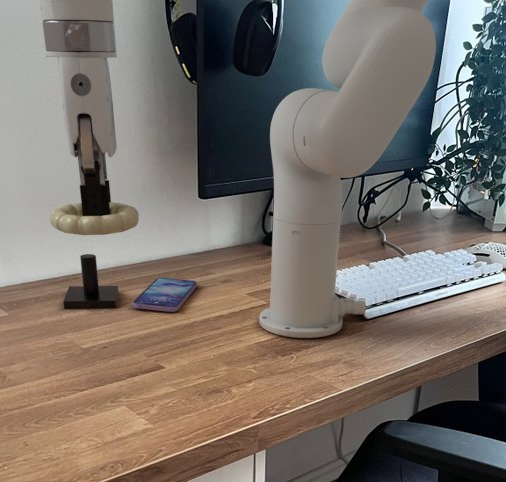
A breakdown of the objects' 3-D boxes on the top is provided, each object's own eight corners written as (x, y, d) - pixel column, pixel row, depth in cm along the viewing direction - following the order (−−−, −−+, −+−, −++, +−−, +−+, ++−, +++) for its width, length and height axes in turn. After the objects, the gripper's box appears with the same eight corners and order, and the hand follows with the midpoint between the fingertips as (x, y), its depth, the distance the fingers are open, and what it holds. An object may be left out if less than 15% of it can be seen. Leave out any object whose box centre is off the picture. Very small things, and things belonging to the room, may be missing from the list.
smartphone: (198, 280, 119) (176, 308, 107) (198, 286, 120) (176, 313, 107) (157, 276, 120) (130, 303, 107) (157, 282, 121) (130, 309, 108)
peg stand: (118, 292, 116) (115, 249, 112) (115, 308, 109) (112, 262, 105) (69, 293, 115) (64, 249, 111) (64, 308, 108) (58, 262, 104)
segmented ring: (139, 216, 86) (138, 199, 85) (138, 235, 77) (137, 217, 76) (57, 218, 84) (54, 201, 83) (47, 237, 76) (44, 219, 75)
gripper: (112, 42, 68) (127, 232, 77) (118, 42, 82) (130, 204, 91) (34, 41, 67) (59, 233, 77) (53, 41, 81) (72, 204, 90)
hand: (97, 216), depth 84 cm, fingers closed on segmented ring, 2 cm apart
